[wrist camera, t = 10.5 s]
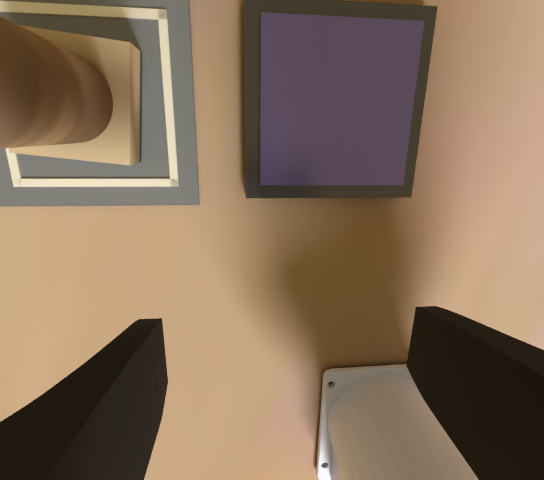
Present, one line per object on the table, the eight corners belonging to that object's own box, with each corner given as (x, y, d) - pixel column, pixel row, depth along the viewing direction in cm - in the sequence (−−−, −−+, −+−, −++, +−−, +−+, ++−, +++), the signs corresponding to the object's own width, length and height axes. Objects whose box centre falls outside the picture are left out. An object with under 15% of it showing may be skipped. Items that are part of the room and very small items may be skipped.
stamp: (141, 161, 17) (70, 184, 10) (34, 150, 17) (-130, 165, 9) (142, 53, 16) (60, -19, 8) (25, 35, 15) (-180, -61, 8)
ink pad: (402, 193, 20) (413, 198, 18) (245, 194, 19) (246, 199, 17) (425, 13, 17) (441, 4, 16) (243, 3, 16) (244, -8, 15)
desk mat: (199, 204, 19) (199, 205, 18) (0, 205, 17) (-4, 206, 17) (188, -13, 16) (187, -16, 15) (-53, -28, 14) (-59, -31, 14)
